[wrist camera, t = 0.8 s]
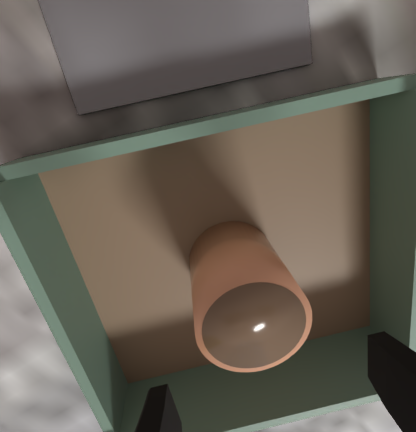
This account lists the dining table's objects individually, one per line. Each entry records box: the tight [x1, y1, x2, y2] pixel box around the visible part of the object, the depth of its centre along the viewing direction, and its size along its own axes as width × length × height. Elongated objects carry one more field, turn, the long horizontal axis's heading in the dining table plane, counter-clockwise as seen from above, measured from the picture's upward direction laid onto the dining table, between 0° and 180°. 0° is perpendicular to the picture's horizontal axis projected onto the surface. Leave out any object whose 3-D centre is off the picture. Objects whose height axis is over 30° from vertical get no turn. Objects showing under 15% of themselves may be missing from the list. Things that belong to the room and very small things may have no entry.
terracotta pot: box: [189, 221, 312, 372], centre depth 16 cm, size 5×5×6 cm
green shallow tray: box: [0, 74, 416, 432], centre depth 16 cm, size 19×17×5 cm
